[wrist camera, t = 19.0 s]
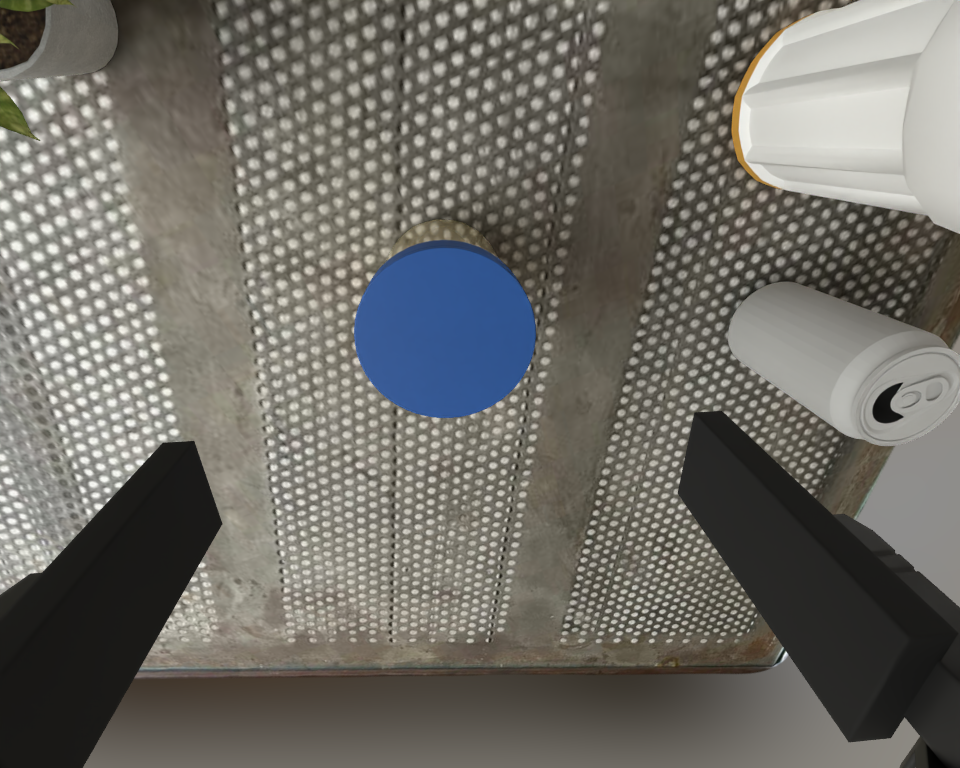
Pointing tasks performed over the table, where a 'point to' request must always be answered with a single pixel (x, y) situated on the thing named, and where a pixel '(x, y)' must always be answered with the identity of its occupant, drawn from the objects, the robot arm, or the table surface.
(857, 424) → the beverage can
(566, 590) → the table surface
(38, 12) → the house plant
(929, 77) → the cup
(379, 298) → the jar lid
